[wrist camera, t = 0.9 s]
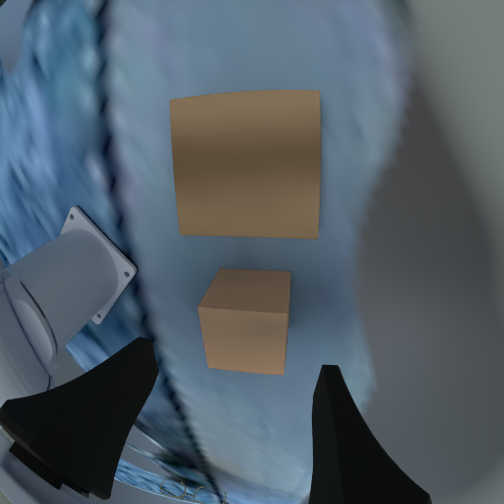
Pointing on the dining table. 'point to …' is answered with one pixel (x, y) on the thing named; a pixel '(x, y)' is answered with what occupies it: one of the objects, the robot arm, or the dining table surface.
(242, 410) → the dining table surface
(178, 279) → the dining table surface
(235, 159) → the walnut base
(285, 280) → the terracotta cube
